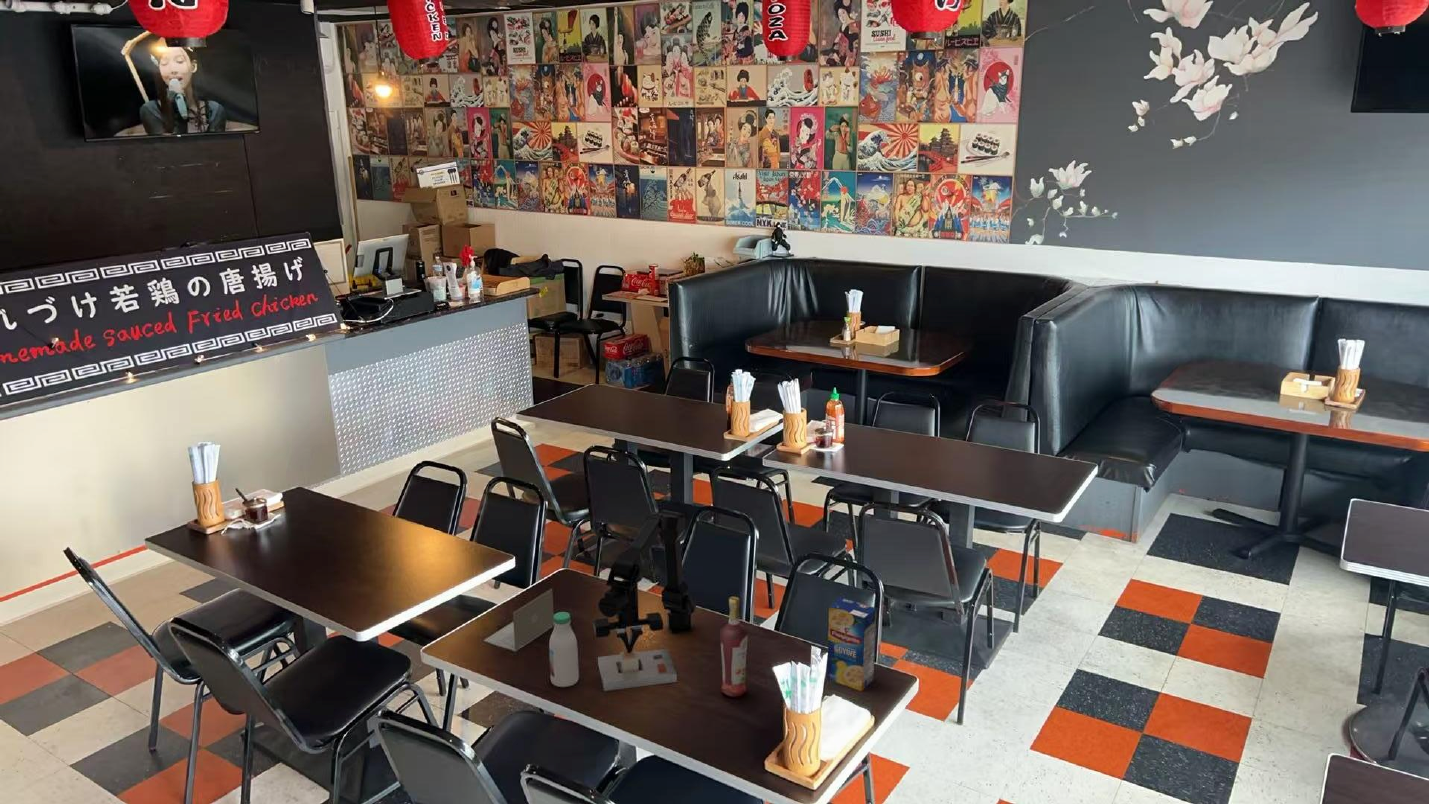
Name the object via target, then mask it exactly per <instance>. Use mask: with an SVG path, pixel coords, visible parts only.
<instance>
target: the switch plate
mask: <svg viewBox="0 0 1429 804" xmlns="http://www.w3.org/2000/svg"><path fill="white" fill-rule="evenodd" d="M636 653H637V656H638V667H639V668H640V670H639V671H633V672H625V673H621V672H619V671H621V661H620V654H613V655H612V654H611V655H606V656H605V655H604V656H598V657H597V663H598V664H597V665H598V669H599V673H600V678H601V682H602V687H603V690H604V692H609V691H615V690H616V691H617V690H626V689H630V688H631V689H632V688H639V687H640V688H641V687H646V686H655V685H662V684H663V685H664V684H670V683H676V682H678V681H677V679H678V678H677V677H678V675H677V672H676V669H675V668H676V667H675V665H674V663H673V660H672V658H671V655H670V653H669V650H668V648H661V649H654V650H647V651H638V652H637V651H636Z"/></svg>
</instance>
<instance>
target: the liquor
mask: <svg viewBox="0 0 1429 804" xmlns="http://www.w3.org/2000/svg"><path fill="white" fill-rule="evenodd" d="M728 605H729V606H728V607H729V615H728V616H729V617H728V623H726V624H724V625H723V626H721V627H720V630H719V632H720V633H719V634H720V651H721V652H720V653H721V668H722V669H721V670H722V671H721V672H722V685H721V687H720V688H721V689H720V690H721V692H723V694H725V695H726V696H728V697H730V698H739V697H741V696H742V695H743V694H744V693H746V692H747V689H748V688H747V686H746V664H747V663H746V662H747V652H748V651H747V649H748V636H749V635H748V633H749V632H748V631H749V629H748V627H747V626H745V625H743V624H742V623H741V622H740V615H739V614H740V613H739V607H740V598H739V597H738V596H730V597H729V598H728Z"/></svg>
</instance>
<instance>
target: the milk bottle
mask: <svg viewBox="0 0 1429 804" xmlns="http://www.w3.org/2000/svg"><path fill="white" fill-rule="evenodd" d="M553 621H554V626H553V630H552V633H551V635H550V638H549V643H548V644H549V645H548V651H549V671H550V672H549V673H550V681H551V684H552V685H554V686H555V687H558V688H559V687H560V688H567V687H572V686H574V685H575V684H577V682H579V678H580V674H579V654H578V641H577V638H576V635H575V633H574V631H573V629H572V627H571V614H570V613H569V612H566V611H560V612H556V613H554V616H553Z"/></svg>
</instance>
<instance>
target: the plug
mask: <svg viewBox="0 0 1429 804" xmlns="http://www.w3.org/2000/svg"><path fill="white" fill-rule="evenodd" d="M636 652H637V650H632V651H631V653H628V652H627V650H626V651H620V653H619V655H620V661H621V670H620V673H625V672H633V671H640V670H639V668H640V667H638V656H637V653H636Z"/></svg>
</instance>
